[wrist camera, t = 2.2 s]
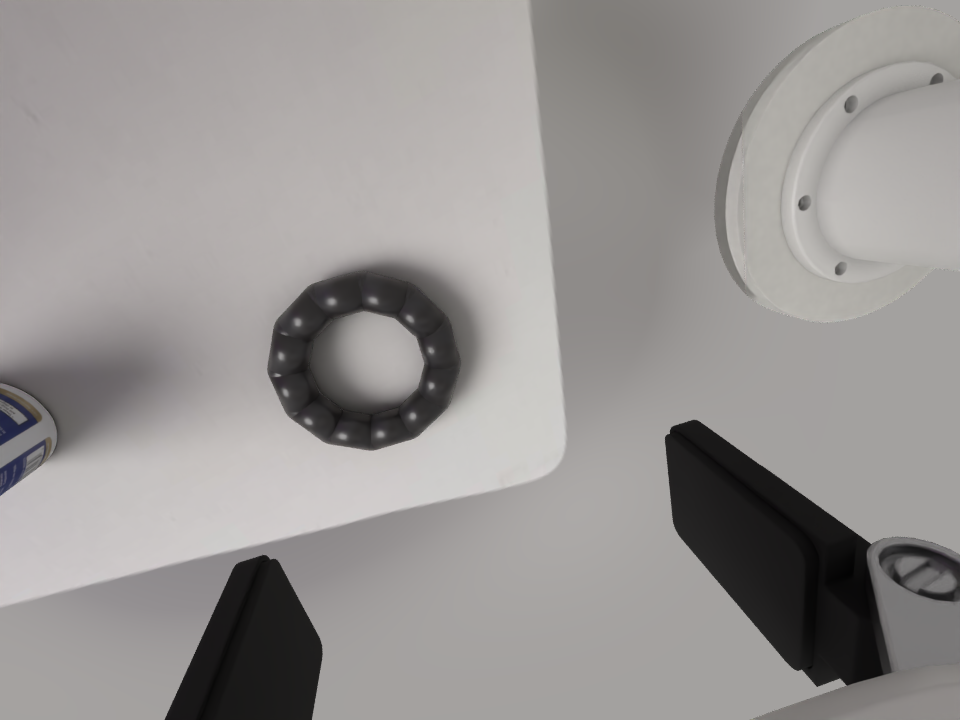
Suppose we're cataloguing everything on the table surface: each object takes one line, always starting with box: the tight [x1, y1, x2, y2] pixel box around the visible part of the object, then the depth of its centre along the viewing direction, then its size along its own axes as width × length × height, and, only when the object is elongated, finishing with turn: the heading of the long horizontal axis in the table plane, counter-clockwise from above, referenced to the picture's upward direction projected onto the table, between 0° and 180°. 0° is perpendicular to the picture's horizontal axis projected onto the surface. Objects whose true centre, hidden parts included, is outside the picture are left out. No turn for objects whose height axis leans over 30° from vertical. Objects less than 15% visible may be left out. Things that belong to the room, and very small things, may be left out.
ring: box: [267, 271, 461, 451], centre depth 24 cm, size 10×10×2 cm
